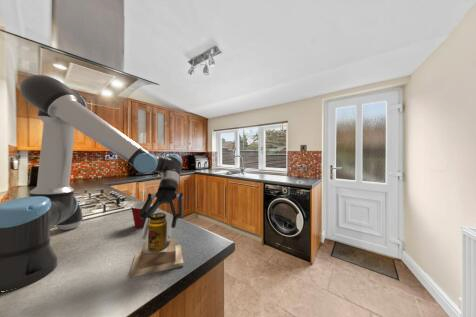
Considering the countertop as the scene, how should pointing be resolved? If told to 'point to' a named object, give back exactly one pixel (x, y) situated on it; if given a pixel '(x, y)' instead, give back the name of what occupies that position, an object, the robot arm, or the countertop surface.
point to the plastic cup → (138, 212)
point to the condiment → (157, 234)
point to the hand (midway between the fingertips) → (156, 237)
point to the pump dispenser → (71, 220)
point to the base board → (156, 268)
